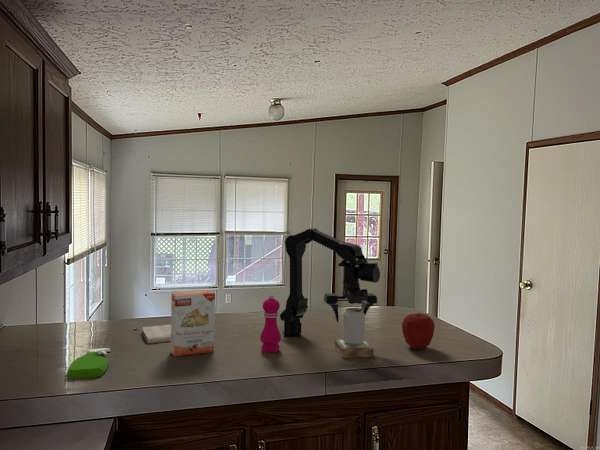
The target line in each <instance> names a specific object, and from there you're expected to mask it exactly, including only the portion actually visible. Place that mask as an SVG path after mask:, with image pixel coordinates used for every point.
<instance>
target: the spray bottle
mask: <svg viewBox="0 0 600 450" xmlns="http://www.w3.org/2000/svg"><path fill="white" fill-rule="evenodd" d="M107 352H111V348H110V347H109V348H106V347H104V348H102V347H101V348H91V349H86V354H83V355H82V356H80V357H77V358H76V359H74V360H73V362H71V364H70V365H69V367H68V369H67V373H66V376H67V378H68V379H70V380H76V379H77V380H78V379H91V378H99V377H102V376H103V375H104V373H105V372H106V371H107V369H108V367H109V360H108V359H107V358H105V357H104V356H100V355H107V354H108V353H107Z"/></svg>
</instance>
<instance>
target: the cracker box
mask: <svg viewBox="0 0 600 450" xmlns="http://www.w3.org/2000/svg"><path fill="white" fill-rule="evenodd" d="M170 301H171V303H170V304H171V307H170V308H171V309H170V311H171V313H170V317H171V318H170V325H171V341H170V353H171V354H172V356H173V357H179V356H189V355H190V356H191V355H197V354H205V353H213V352H214V349H215V320H216V319H215V313H216V312H215V311H216V293H215V292H213V291H212V290H198V291H179V292H176V291H175V292H171V300H170Z"/></svg>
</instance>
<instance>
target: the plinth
mask: <svg viewBox="0 0 600 450" xmlns="http://www.w3.org/2000/svg"><path fill="white" fill-rule="evenodd" d="M334 350H336V352H337V353H338V354H339V355H340V357H341V358H342V359H344V358H345V359H347V358H348V359H349V358H350V359H351V358H354V359H355V358H374V347H373V346H372V345H371V344H370V343H369V342H368V341H367V340H366V339H365V338H364V342H363V343H362V344H361V345H356V346H354V345H348V344H346V343H345V342H344V341H343V339H335V340H334Z"/></svg>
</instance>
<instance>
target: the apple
mask: <svg viewBox="0 0 600 450" xmlns="http://www.w3.org/2000/svg"><path fill="white" fill-rule="evenodd" d="M401 328H402V330H401V331H402V335H403V338H404V340H405V343H406V344H407V345H408V346H409V347H411V348H412V349H415V350H419V351H420V350H425V349H426V348H427V347H428V346H430V344H431V342H432V339H433V337H434V334H435V328H436V327H435V322H434V319H432V317H430V315H429V314H426V313H410V314H408V315H406V316H405V317H404V318H403V319H402V323H401Z"/></svg>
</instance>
